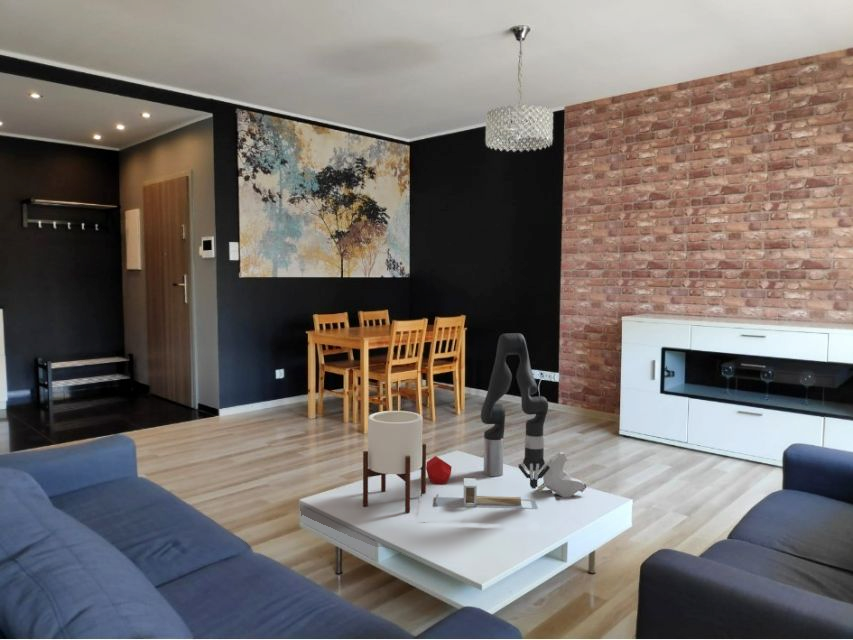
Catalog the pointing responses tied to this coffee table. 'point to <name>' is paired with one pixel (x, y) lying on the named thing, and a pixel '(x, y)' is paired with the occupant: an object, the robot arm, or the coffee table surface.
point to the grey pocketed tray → (462, 501)
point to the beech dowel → (498, 500)
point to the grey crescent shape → (560, 478)
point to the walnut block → (469, 495)
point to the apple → (438, 471)
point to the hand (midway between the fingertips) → (533, 487)
